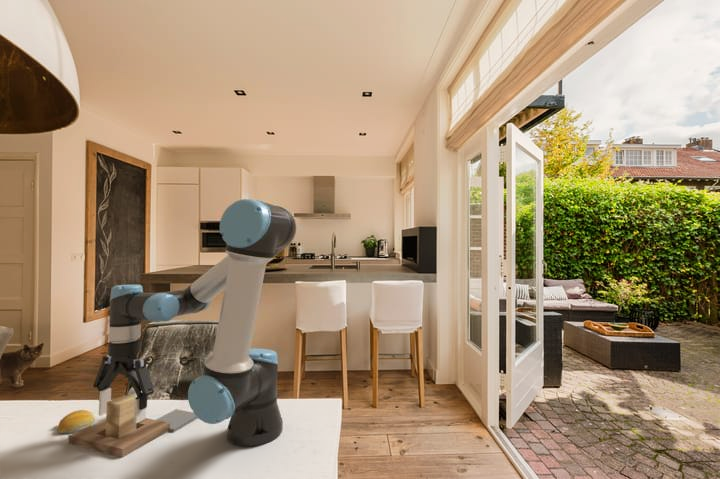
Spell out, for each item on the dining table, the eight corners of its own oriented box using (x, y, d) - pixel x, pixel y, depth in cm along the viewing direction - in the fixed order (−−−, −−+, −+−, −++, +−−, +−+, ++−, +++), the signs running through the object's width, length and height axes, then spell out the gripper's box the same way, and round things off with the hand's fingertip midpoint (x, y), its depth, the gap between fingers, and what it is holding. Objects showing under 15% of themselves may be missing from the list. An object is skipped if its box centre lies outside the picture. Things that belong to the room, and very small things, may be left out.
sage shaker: (145, 412, 108) (146, 384, 109) (133, 418, 104) (134, 389, 105) (136, 410, 109) (137, 382, 110) (123, 416, 106) (125, 387, 106)
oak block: (136, 433, 95) (137, 397, 96) (118, 442, 91) (120, 404, 91) (123, 430, 97) (124, 395, 97) (105, 439, 92) (106, 402, 93)
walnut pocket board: (170, 430, 97) (170, 423, 97) (122, 457, 84) (122, 449, 84) (119, 419, 103) (120, 412, 104) (68, 443, 90) (68, 435, 90)
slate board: (200, 416, 106) (200, 413, 106) (173, 432, 96) (174, 429, 96) (175, 411, 109) (176, 409, 109) (147, 426, 99) (147, 423, 99)
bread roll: (57, 438, 93) (58, 423, 93) (58, 425, 100) (59, 412, 100) (95, 428, 99) (96, 414, 99) (93, 417, 105) (94, 404, 106)
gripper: (170, 340, 95) (167, 417, 94) (107, 333, 103) (104, 405, 101) (145, 347, 88) (142, 430, 86) (79, 339, 95) (76, 416, 94)
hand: (121, 417), depth 94 cm, fingers open, 13 cm apart
